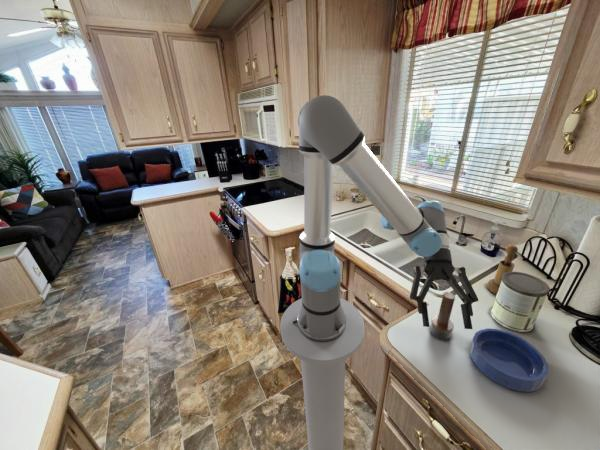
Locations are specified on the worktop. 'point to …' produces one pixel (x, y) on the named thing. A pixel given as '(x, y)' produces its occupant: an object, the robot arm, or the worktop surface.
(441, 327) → the brush
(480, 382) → the worktop surface
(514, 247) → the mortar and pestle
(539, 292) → the coffee can
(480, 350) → the bowl
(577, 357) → the worktop surface
